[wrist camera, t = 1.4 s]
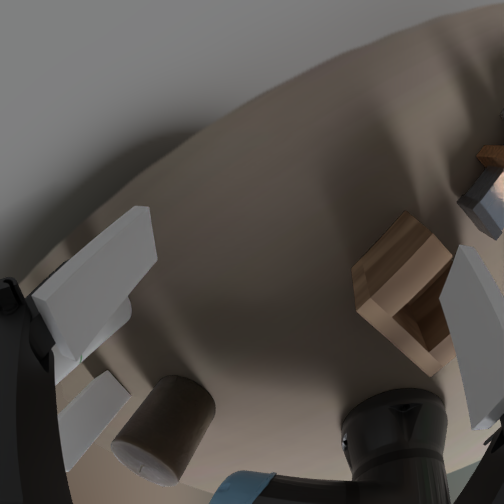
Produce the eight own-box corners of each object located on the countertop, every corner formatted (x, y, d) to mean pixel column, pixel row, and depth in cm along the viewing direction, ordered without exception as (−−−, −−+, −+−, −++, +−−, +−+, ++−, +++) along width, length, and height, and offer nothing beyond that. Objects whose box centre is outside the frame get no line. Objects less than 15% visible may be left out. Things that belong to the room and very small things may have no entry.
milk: (94, 378, 47) (17, 454, 27) (108, 369, 45) (23, 453, 25) (116, 403, 48) (46, 483, 28) (132, 396, 46) (57, 486, 25)
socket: (463, 275, 27) (498, 315, 19) (412, 325, 30) (430, 377, 22) (405, 210, 27) (433, 233, 19) (351, 268, 30) (356, 311, 22)
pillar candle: (193, 369, 40) (137, 449, 26) (228, 418, 41) (189, 497, 27) (146, 379, 43) (91, 444, 29) (180, 423, 45) (137, 489, 31)
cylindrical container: (95, 268, 39) (-53, 360, 16) (135, 293, 38) (-12, 413, 15) (90, 308, 41) (-34, 402, 18) (127, 333, 41) (6, 448, 18)
